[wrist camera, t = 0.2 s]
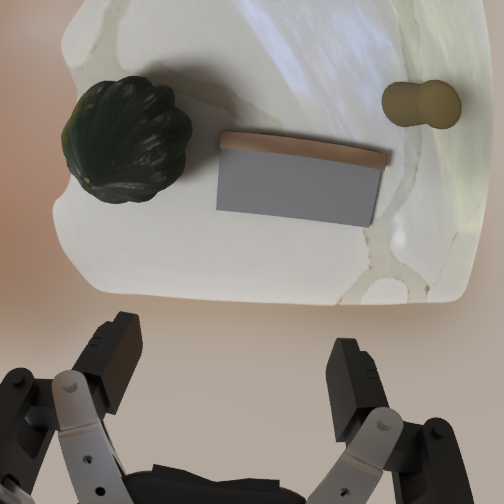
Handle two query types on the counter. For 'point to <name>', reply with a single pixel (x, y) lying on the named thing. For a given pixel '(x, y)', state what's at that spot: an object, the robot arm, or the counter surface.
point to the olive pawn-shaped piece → (422, 104)
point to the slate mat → (296, 187)
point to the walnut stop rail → (302, 148)
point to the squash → (126, 140)
